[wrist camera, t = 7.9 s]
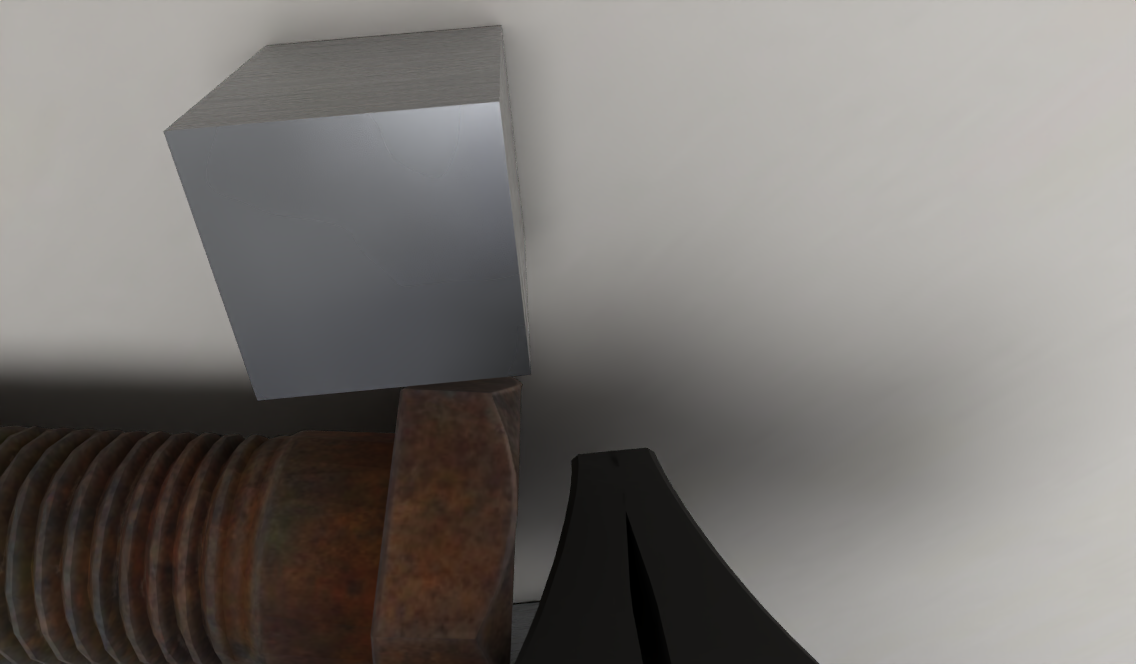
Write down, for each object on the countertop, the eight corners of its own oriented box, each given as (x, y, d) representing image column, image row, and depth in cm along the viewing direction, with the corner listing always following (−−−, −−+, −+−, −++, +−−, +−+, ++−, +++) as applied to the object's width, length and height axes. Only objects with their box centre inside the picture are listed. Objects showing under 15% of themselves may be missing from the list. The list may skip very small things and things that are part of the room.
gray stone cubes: (573, 689, 17) (587, 863, 14) (-112, 760, 17) (-241, 952, 14) (502, 25, 10) (498, 101, 7) (-708, 129, 10) (-1236, 255, 7)
